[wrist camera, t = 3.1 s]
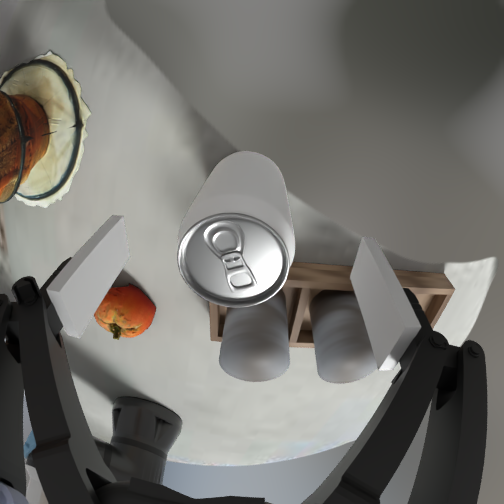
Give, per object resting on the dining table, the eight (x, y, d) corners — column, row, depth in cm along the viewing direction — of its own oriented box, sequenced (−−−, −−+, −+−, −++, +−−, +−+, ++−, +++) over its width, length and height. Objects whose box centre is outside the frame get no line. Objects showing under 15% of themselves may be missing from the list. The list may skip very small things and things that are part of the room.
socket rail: (214, 321, 33) (202, 385, 25) (213, 254, 28) (195, 320, 20) (414, 329, 33) (436, 381, 25) (444, 273, 28) (479, 326, 20)
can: (272, 140, 22) (279, 187, 12) (292, 209, 25) (309, 300, 15) (199, 163, 23) (147, 226, 13) (224, 227, 26) (199, 321, 16)
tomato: (88, 318, 33) (79, 330, 26) (104, 269, 34) (97, 271, 27) (142, 338, 36) (145, 354, 29) (158, 291, 37) (164, 297, 30)
